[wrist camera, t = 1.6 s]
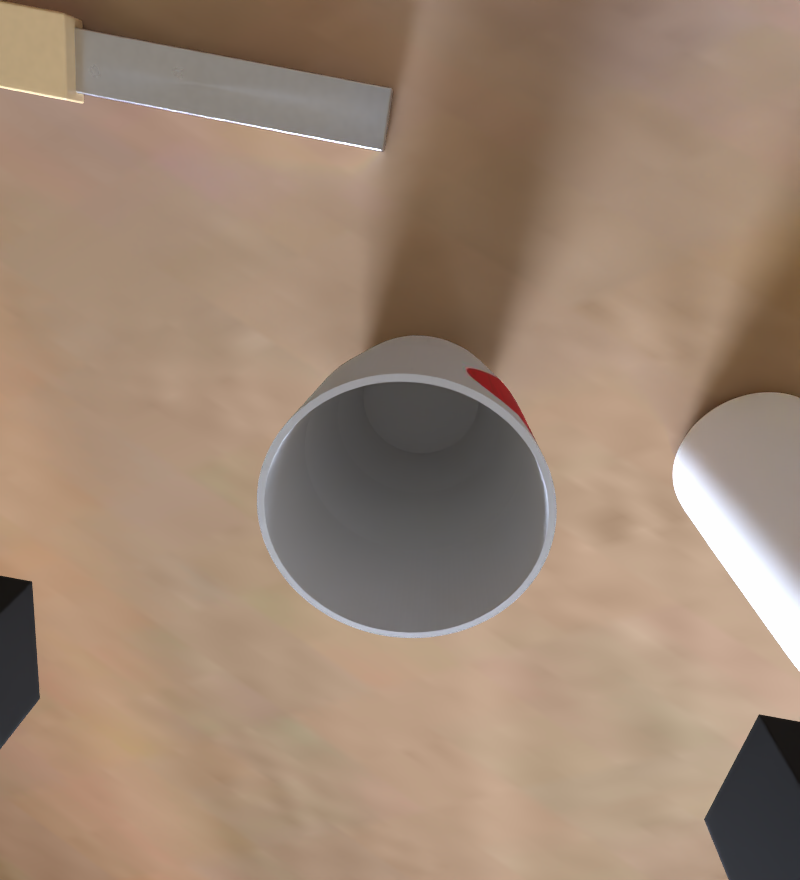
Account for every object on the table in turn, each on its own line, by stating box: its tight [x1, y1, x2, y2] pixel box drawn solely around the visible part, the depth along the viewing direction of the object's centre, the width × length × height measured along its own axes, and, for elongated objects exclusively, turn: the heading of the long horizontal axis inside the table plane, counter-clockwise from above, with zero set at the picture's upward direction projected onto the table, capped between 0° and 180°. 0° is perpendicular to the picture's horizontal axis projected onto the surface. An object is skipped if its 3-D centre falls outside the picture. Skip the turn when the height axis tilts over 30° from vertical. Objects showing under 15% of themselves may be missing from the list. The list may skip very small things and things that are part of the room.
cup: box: [257, 335, 556, 638], centre depth 22 cm, size 8×8×10 cm
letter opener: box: [0, 0, 393, 152], centre depth 22 cm, size 18×3×1 cm, turn 80°
